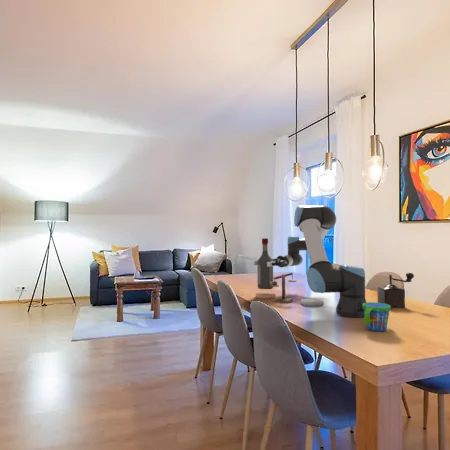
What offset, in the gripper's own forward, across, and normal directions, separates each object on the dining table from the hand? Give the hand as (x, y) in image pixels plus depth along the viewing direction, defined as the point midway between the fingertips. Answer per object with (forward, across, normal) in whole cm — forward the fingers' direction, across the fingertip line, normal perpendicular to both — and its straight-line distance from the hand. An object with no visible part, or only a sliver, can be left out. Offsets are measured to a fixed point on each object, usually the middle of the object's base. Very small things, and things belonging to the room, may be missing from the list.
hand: (260, 263), depth 215 cm
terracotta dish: (-4, 0, -20) cm, 21 cm away
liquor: (-4, 0, -15) cm, 16 cm away
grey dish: (-7, -32, -20) cm, 38 cm away
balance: (-2, -16, -20) cm, 26 cm away
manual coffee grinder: (-36, -64, -21) cm, 76 cm away
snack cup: (+15, -78, -20) cm, 82 cm away
